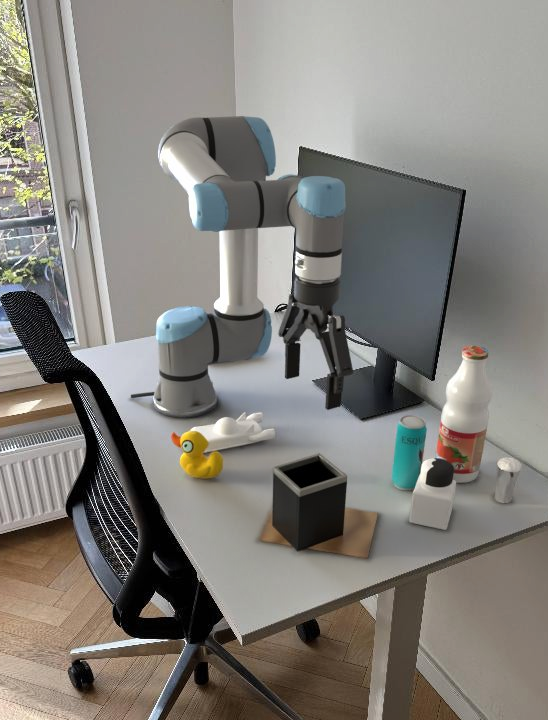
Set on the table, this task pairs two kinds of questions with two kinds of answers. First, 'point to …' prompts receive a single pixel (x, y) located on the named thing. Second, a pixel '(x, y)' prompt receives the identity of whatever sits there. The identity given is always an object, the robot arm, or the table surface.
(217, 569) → the table surface
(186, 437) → the duckling
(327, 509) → the desk bin
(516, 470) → the milkshake
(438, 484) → the medicine bottle
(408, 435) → the beverage can
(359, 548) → the wooden board
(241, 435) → the white piece
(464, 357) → the fruit juice
